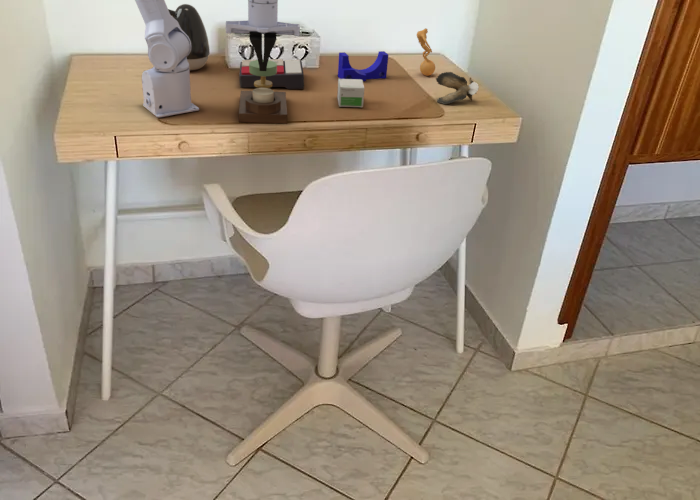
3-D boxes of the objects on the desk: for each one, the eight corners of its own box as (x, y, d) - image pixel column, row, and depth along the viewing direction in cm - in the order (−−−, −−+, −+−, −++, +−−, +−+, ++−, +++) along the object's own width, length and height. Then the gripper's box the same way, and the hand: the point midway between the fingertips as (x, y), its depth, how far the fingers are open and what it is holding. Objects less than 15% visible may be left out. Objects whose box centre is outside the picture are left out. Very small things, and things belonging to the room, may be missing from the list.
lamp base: (287, 123, 141) (287, 105, 139) (238, 122, 140) (238, 104, 138) (285, 100, 153) (285, 83, 151) (240, 99, 152) (240, 81, 149)
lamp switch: (273, 104, 140) (273, 95, 139) (252, 104, 139) (252, 94, 138) (273, 97, 144) (273, 87, 143) (252, 96, 143) (252, 87, 142)
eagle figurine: (462, 88, 165) (430, 83, 161) (477, 69, 159) (445, 63, 155) (469, 113, 162) (436, 109, 158) (485, 95, 156) (452, 90, 152)
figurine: (439, 80, 173) (446, 32, 166) (417, 80, 171) (423, 32, 165) (427, 70, 179) (433, 24, 173) (406, 70, 178) (411, 24, 171)
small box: (338, 107, 151) (339, 86, 149) (336, 98, 156) (337, 77, 153) (363, 108, 152) (365, 87, 149) (361, 99, 157) (362, 78, 154)
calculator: (240, 58, 165) (301, 57, 166) (241, 75, 167) (301, 74, 169) (238, 72, 156) (303, 71, 157) (240, 90, 158) (304, 89, 160)
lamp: (277, 90, 146) (277, 68, 144) (249, 89, 146) (248, 67, 143) (276, 81, 151) (276, 60, 149) (249, 80, 151) (249, 59, 148)
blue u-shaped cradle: (343, 82, 166) (344, 57, 163) (337, 76, 170) (339, 52, 167) (388, 80, 170) (390, 56, 167) (382, 74, 174) (384, 51, 170)
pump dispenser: (163, 62, 170) (158, 0, 162) (204, 60, 174) (201, -2, 166) (172, 75, 162) (167, 10, 154) (215, 72, 166) (212, 8, 158)
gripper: (224, 3, 126) (226, 74, 134) (301, 7, 128) (299, 77, 136) (225, -5, 132) (227, 63, 140) (299, -2, 134) (297, 66, 141)
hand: (263, 69), depth 138 cm, fingers closed
